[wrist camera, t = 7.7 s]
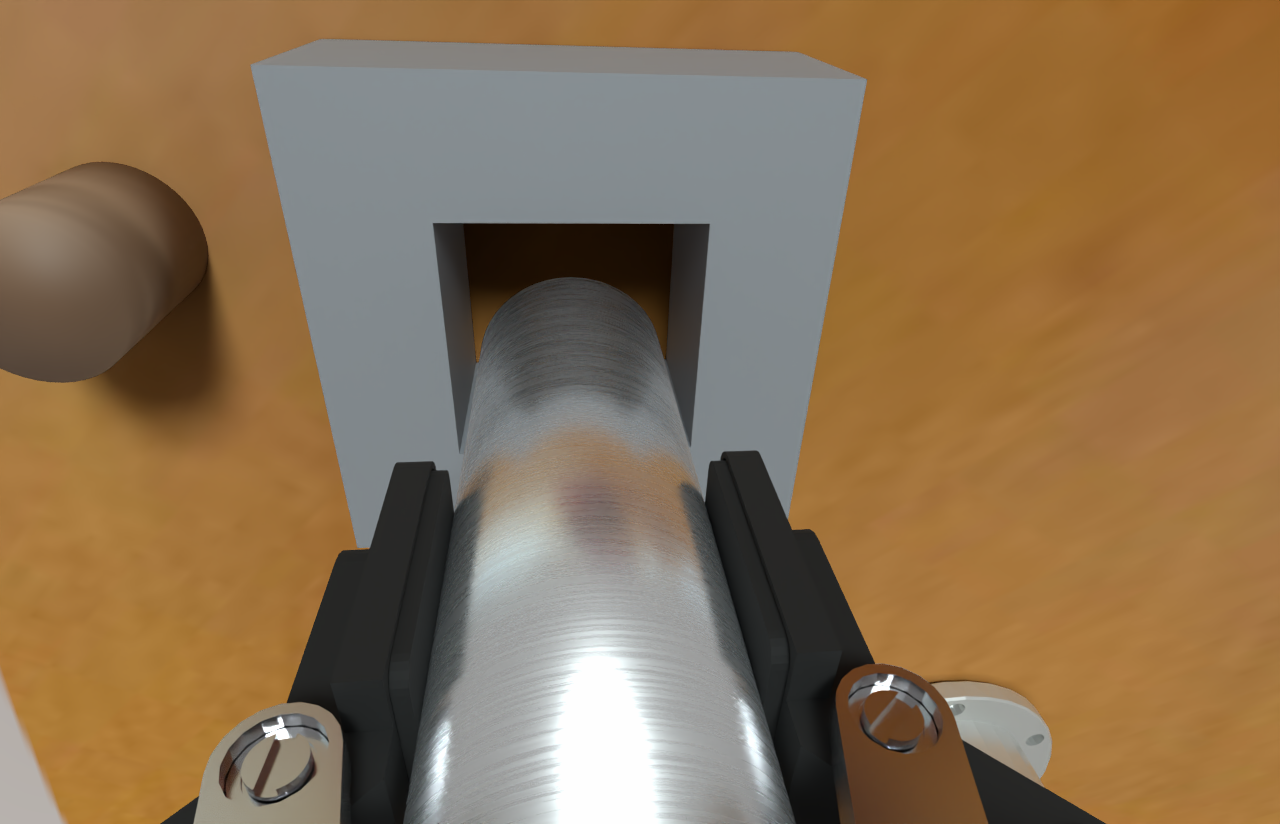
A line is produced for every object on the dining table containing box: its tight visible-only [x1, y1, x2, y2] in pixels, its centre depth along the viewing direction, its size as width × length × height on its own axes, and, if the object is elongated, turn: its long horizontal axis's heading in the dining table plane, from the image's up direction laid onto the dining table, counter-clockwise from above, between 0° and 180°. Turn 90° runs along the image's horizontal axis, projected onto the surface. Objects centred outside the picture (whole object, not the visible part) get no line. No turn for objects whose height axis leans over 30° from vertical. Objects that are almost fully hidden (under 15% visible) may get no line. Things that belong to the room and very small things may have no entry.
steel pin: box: [403, 277, 796, 824], centre depth 11 cm, size 4×4×12 cm
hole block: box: [251, 39, 867, 548], centre depth 20 cm, size 12×12×5 cm
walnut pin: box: [0, 162, 208, 383], centre depth 18 cm, size 4×4×4 cm
